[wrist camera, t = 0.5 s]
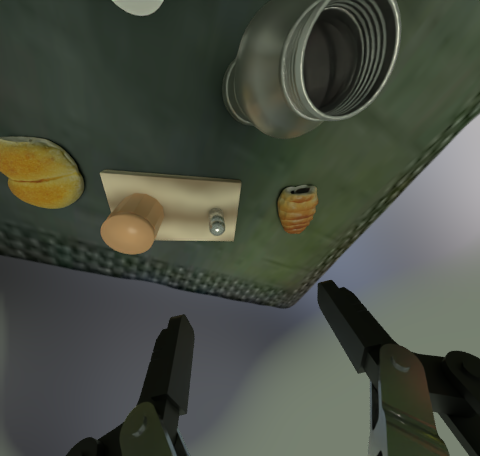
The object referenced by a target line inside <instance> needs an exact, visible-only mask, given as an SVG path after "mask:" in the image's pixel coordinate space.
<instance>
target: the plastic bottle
mask: <svg viewBox="0 0 480 456" xmlns="http://www.w3.org/2000/svg"><path fill="white" fill-rule="evenodd" d="M400 41H401V18H400V12H399V8H398V5H397V1H396V0H271V1H269V2H267V3H266V4H265V5H264V6H263V7H262V8H261V9H260V10H259V11H258V12H257V13H256V14H255V15H254V17H253V18H252V20H251V21H250V23H249V24H248V26H247V28H246V30H245V32H244V34H243V37H242V39H241V42H240V46H239V49H238V53H237V57H236V58H235V59H234V60H233V61H232V62H231V63H230V65H229V66H228V68H227V70H226V72H225V74H224V78H223V82H222V96H223V100H224V104H225V106H226V108H227V110H228V112H229V113H230V115H231V116H232V117H233V118H234V119H235V120H236V121H238V122H239V123H241V124H244V125H248V126H255V127H256V128H257V129H258V130H260V131H261V132H263V133H264V134H266V135H268V136H271V137H273V138H279V139H291V138H295V137H299V136H301V135H303V134H305V133H307V132H309V131H312V130H313V129H315V128H316V127H317V126H319V125H320V124H321V123H322V122H323V121H339V120H343V119H347V118H350V117H352V116H354V115H356V114H358V113H360V112H361V111H362V110H364V109H365V108H366V107H368V106H369V105H370V104H371V103H372V102H373V101H374V100H375V98H376V97H377V96H378V95H379V93H380V92H381V91H382V89H383V88H384V86H385V84H386V83H387V81H388V79H389V77H390V75H391V73H392V70H393V68H394V65H395V62H396V59H397V56H398V52H399V47H400Z"/></svg>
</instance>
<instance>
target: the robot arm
mask: <svg viewBox="0 0 480 456" xmlns="http://www.w3.org/2000/svg"><path fill="white" fill-rule="evenodd" d="M318 304H319V307H320V309H321V311H322V313H323V315H324V316H325V318H326V320H327V321H328V323H329V325H330V326H331V328H332V330H333V332H334V333H335V335H336V337H337V338H338V340H339V342H340V344H341V345H342V347H343V349H344V350H345V352H346V354H347V356H348V357H349V359H350V361H351V362H352V364H353V366H354V368H355V369H356V371H357V373H363V372H366V374H367V375H368V377H369V379H370V436H369V446H368V456H449V452H448V449H447V447H446V445H445V443H444V441H443V440H442V439H440V437H439V436H438V433H437V430H436V425H435V420H434V415H433V412H438V414H439V415H440V416H441V418H442V419H443V420H444V422H445V423H446V425H447V426H448V427H449V428H450V430H451V431H452V433H453V434H454V435H455V437H456V438H457V440H458V441H459V442H460V443H461V445H462V446H463V448H464V449H465V450H466V452H467V453H468V454H469V456H480V359H479V358H478V357H476V356H473V355H471V354H469V353H466V352H462V351H451V352H449V353H448V354H447V355H446V356H445V357H439V356H431V355H422V354H417V353H413V352H411V351H409V350H408V349H406V348H404V347H403V346H400V345H398V344H397V343H396V342H395V341H394V340H393V339H392V338H391V337H390V336H389V335H388V334H387V332H386V331H385V330H384V329H383V328H382V326H381V325H380V324H379V323H378V322H377V321H376V319H375V318H374V317H373V316H372V315H371V313H370V312H369V311H367V309H366V308H365V307H364V305H363V304H361V302H360V301H359V299H358V298H357V297H356V296H355V295H354V293H352V292H351V291H349V290H348V289H346V288H345V287H342V288H338V287H337V285H336V284H335V283H334V282H333V281H332V280H328V281H324V282H320V283H318ZM193 348H194V331H193V328H192V326H191V325H190V323H189V321H188V319H187V317H186V316H185V315H184V314H183V315H179V316H175V317H171V318H170V320H169V324H168V328H167V329H163V330H162V331H161V333H160V335H159V336H158V338H157V339H156V343H155V346H154V350H153V353H152V357H151V362H150V364H149V367H148V371H147V374H146V378H145V381H144V385H143V388H142V392H141V395H140V398H139V401H138V403H137V405H136V407H135V408H134V409H133V410H132V411H131V412H130V413H129V415H128V416H127V418H126V419H125V421H124V422H123V423H122V424H121V425H119V426H118V427H116V428H115V429H114V430H112V431H111V432H109V433H107V434H106V435H104V436H103V437H101V438H100V439H98V440H96V439H94V438H92V437H88V438H85V439H83V440H81V441H80V442H79V443H77V444H76V445H75V446H74V447H73V448H72V449H71V450H70V451H69V452H68V454H67V455H66V456H190V454H189V452H188V449H187V447H186V445H185V442H184V440H183V438H182V436H181V433H180V431H179V429H178V427H177V426H178V419H179V416H180V415H184V414H187V406H188V396H189V387H190V377H191V367H192V358H193Z"/></svg>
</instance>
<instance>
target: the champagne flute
mask: <svg viewBox="0 0 480 456" xmlns="http://www.w3.org/2000/svg"><path fill="white" fill-rule="evenodd" d="M112 1H113V2H114V3H115V4H116V5H117V6H119V7H120V8H121V9H123V10H124V11H126V12H128V13H130V14H133V15H138V16H145V15H149V14H151V13H154V12H155V11H156V10H157V9H158V8H159V7H160V6H161V4H162V2H163V1H164V0H112Z"/></svg>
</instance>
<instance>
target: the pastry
mask: <svg viewBox="0 0 480 456" xmlns="http://www.w3.org/2000/svg"><path fill="white" fill-rule="evenodd" d="M316 191H317V188H316V187H315V186H307V185H301V186H297V187H287V188H285V189H284V190H283V191H282V193H281V195H280V197H279V199H278V213H279V217H280V220H281V224H282V226H283V228H284V230H285V231H286V232H288V233H290V234H294V233H296V234H300V233H301V232H302V231H303V230H304V229H305V228H306V227H307V226H308V225H309V223H310V220H312V219H313V214H314V213H315V212H316V209H315V206H316V205H317V204H318V197H317V192H316Z"/></svg>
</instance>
